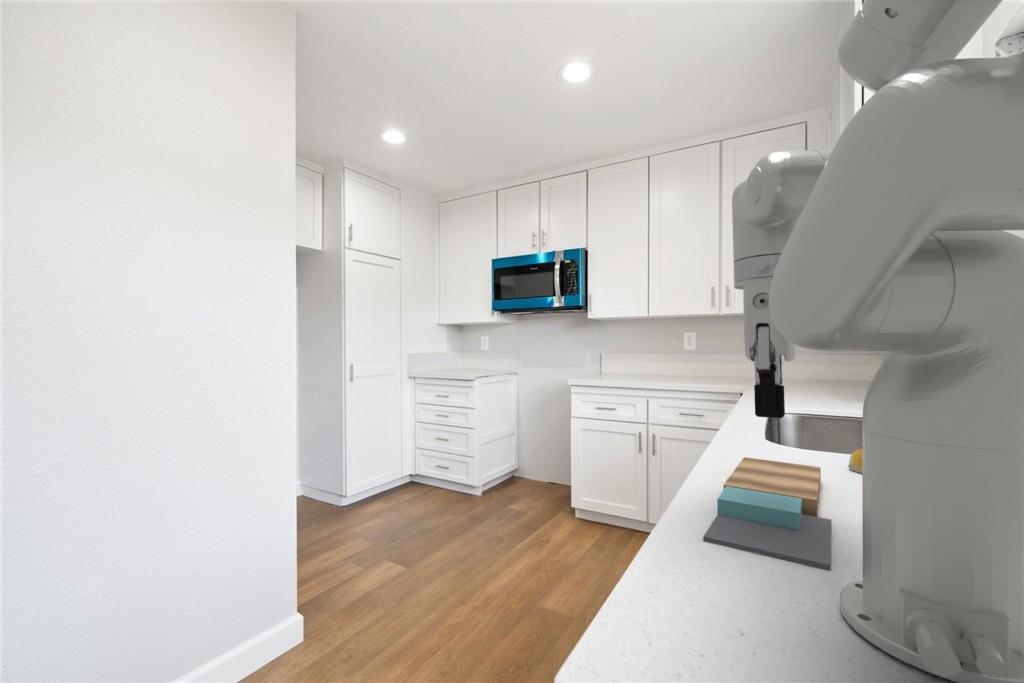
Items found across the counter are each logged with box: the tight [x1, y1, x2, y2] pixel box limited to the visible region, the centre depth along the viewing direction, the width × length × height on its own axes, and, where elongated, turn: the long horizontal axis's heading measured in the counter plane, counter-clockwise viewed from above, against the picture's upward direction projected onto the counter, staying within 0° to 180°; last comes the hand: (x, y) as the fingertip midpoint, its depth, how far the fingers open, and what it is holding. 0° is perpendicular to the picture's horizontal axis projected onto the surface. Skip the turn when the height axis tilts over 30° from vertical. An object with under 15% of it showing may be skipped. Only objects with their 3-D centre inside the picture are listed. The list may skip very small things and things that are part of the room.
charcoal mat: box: [702, 514, 832, 571], centre depth 55 cm, size 14×12×1 cm
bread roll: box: [848, 448, 862, 475], centre depth 79 cm, size 8×9×4 cm
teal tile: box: [716, 486, 802, 530], centre depth 59 cm, size 6×9×2 cm, turn 55°
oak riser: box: [723, 457, 822, 517], centre depth 69 cm, size 18×11×2 cm, turn 145°
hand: (769, 416), depth 59 cm, fingers closed
